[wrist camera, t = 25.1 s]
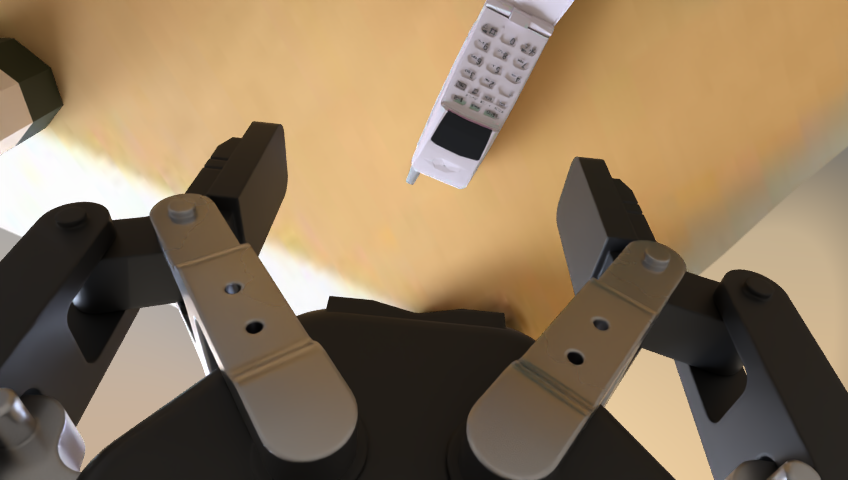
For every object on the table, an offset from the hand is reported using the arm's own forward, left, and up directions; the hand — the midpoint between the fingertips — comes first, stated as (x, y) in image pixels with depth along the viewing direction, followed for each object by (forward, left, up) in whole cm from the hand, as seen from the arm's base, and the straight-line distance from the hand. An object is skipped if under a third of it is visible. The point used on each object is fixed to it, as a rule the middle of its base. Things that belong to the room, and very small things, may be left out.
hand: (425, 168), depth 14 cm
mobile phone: (+7, +4, -31) cm, 32 cm away
